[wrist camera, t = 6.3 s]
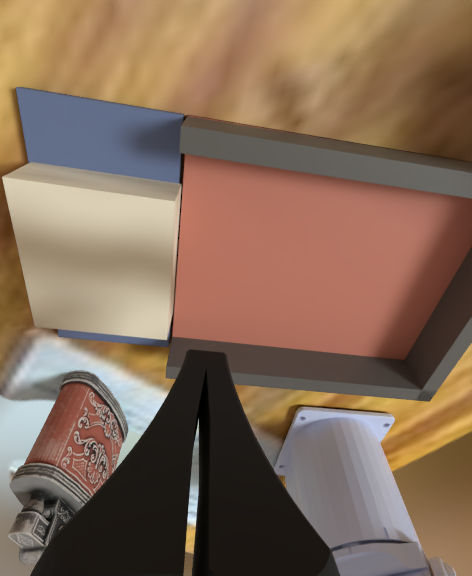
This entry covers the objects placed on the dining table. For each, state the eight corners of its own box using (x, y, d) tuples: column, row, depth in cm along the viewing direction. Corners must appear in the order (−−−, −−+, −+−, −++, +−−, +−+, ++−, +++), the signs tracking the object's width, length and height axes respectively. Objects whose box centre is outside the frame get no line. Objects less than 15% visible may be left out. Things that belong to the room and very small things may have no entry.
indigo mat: (169, 343, 23) (168, 347, 23) (61, 332, 22) (58, 336, 22) (184, 114, 15) (183, 115, 15) (20, 86, 15) (15, 87, 14)
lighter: (53, 374, 24) (-37, 535, 16) (98, 367, 24) (30, 528, 16) (98, 438, 29) (45, 592, 21) (136, 433, 29) (99, 587, 20)
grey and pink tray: (409, 367, 25) (429, 401, 22) (172, 343, 23) (165, 378, 21) (528, 171, 17) (580, 190, 15) (188, 115, 15) (180, 125, 13)
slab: (173, 312, 21) (167, 340, 19) (54, 299, 20) (34, 326, 18) (181, 183, 17) (175, 201, 15) (31, 161, 16) (2, 177, 14)
